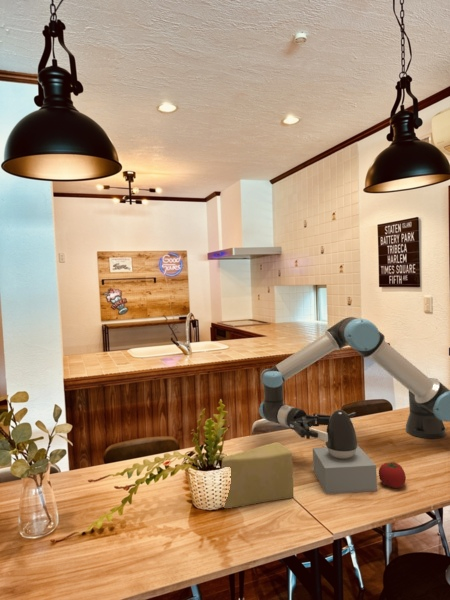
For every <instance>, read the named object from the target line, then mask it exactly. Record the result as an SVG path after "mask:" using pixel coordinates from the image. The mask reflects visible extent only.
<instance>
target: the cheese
mask: <svg viewBox="0 0 450 600" xmlns="http://www.w3.org/2000/svg"><path fill="white" fill-rule="evenodd" d="M224 467H230V468H231V476H230V478H231V484H230V490H229V493H228V497H227V499H226V503H225V506H224V508H231V509H233V508H232V507H236V508H239V507H238V506H241V507H244V506H243V505H246V506H250V505H249V504H251V505H256V503H257V504H261V502H262V503H267V502H271V501H272V502H273V501H278V500H279V501H280V500H286V499H292V498H294V472H293V471H294V469H293V454H292V450H290V449H289V448H288V447H286V446H284V445H283V444H281V443H280V442H277V441H275V442H272V443H268V444H265V445H262V446H261V445H260V446H258V447H254V448H252V449H249V450H244V451H242V452H238V453H235V454H231V455H226V456H225V457H223V458H222V460H221V468H224Z"/></svg>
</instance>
